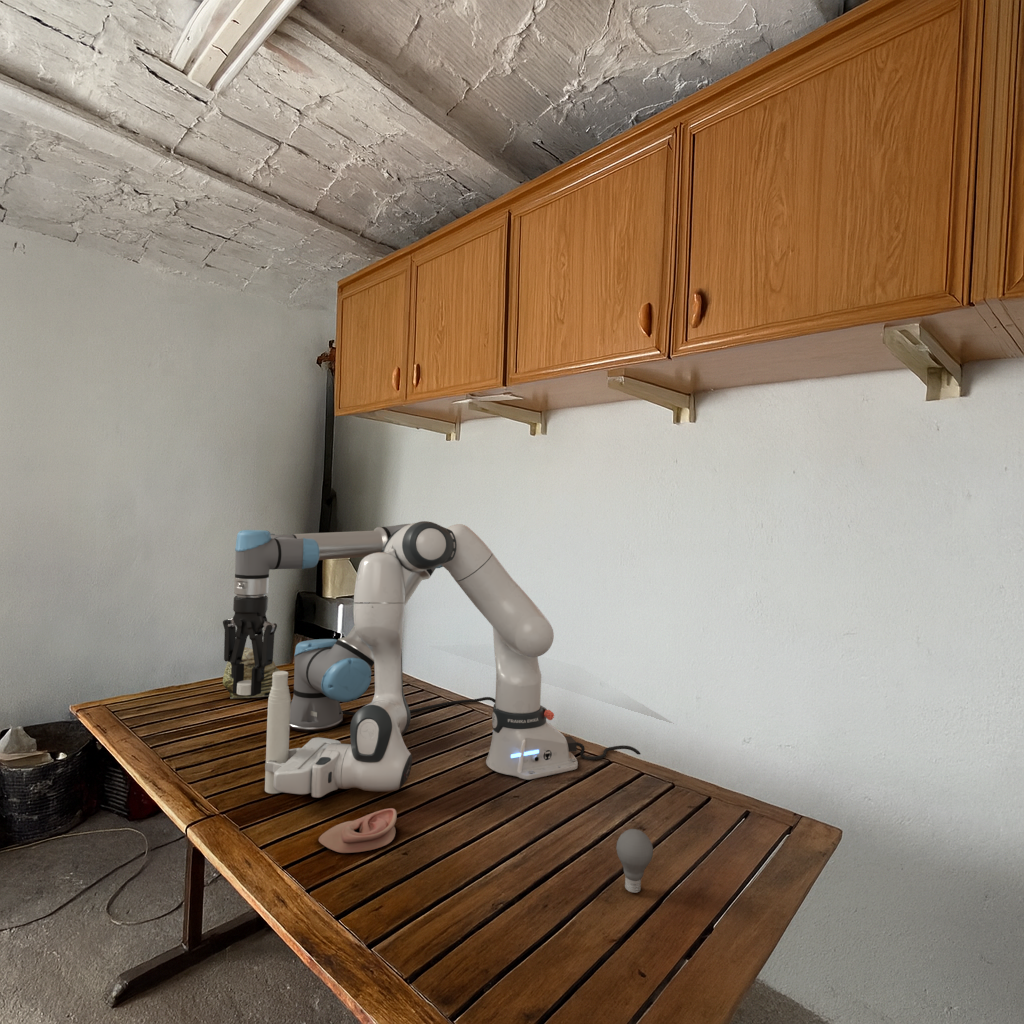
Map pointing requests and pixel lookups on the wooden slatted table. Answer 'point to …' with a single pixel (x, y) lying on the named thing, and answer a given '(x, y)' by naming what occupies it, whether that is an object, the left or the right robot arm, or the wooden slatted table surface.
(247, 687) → the cap
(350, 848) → the anatomical model
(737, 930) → the wooden slatted table surface
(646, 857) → the light bulb
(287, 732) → the bottle
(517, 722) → the right robot arm
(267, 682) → the fossil
